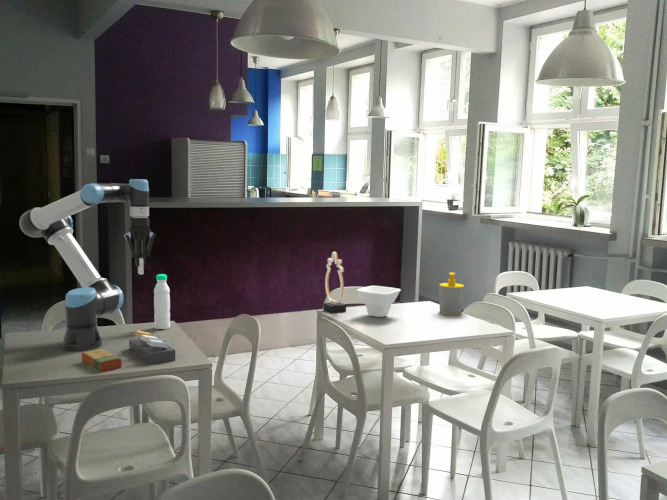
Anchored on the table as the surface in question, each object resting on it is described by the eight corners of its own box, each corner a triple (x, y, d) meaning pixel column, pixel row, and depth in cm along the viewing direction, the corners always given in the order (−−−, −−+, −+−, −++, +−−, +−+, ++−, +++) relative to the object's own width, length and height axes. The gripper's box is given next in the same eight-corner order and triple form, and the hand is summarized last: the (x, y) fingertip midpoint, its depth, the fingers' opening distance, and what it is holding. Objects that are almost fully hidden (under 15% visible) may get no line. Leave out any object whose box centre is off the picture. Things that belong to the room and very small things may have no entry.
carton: (103, 359, 236) (102, 348, 236) (122, 368, 225) (122, 357, 224) (81, 363, 230) (81, 352, 230) (99, 373, 219) (99, 361, 218)
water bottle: (172, 326, 287) (171, 273, 284) (167, 330, 280) (166, 276, 277) (157, 326, 288) (157, 273, 285) (152, 329, 281) (151, 275, 278)
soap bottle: (437, 313, 324) (439, 274, 322) (438, 308, 337) (440, 270, 334) (462, 315, 321) (464, 275, 319) (463, 310, 334) (464, 271, 331)
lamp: (350, 313, 322) (351, 253, 319) (335, 314, 318) (336, 254, 314) (333, 307, 336) (334, 249, 333) (319, 308, 332) (320, 250, 328)
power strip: (149, 364, 229) (149, 351, 229) (123, 344, 256) (123, 332, 255) (175, 360, 235) (175, 347, 234) (147, 340, 262) (147, 329, 261)
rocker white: (143, 341, 238) (145, 336, 238) (140, 338, 241) (141, 334, 241) (160, 343, 242) (162, 339, 242) (157, 341, 245) (158, 336, 245)
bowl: (402, 315, 319) (403, 288, 318) (385, 322, 303) (386, 294, 301) (371, 310, 329) (372, 285, 327) (352, 317, 313) (353, 290, 311)
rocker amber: (137, 336, 244) (139, 331, 244) (134, 334, 247) (136, 329, 247) (154, 340, 248) (155, 335, 248) (151, 337, 251) (152, 333, 251)
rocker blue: (150, 345, 232) (151, 340, 232) (146, 343, 235) (147, 338, 235) (167, 348, 236) (168, 343, 236) (164, 345, 239) (165, 340, 239)
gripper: (126, 217, 245) (127, 276, 248) (158, 217, 252) (159, 274, 255) (120, 216, 251) (122, 273, 254) (152, 216, 259) (153, 271, 261)
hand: (140, 273), depth 255 cm, fingers closed
